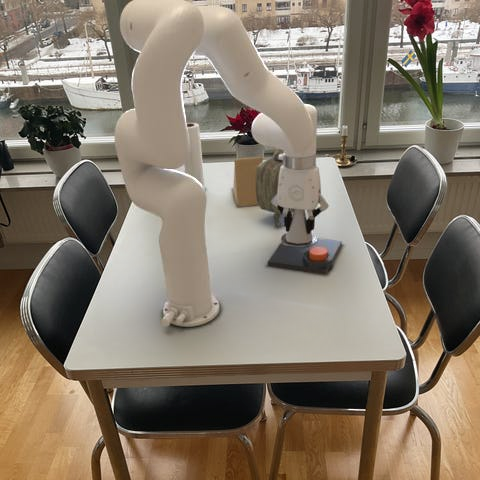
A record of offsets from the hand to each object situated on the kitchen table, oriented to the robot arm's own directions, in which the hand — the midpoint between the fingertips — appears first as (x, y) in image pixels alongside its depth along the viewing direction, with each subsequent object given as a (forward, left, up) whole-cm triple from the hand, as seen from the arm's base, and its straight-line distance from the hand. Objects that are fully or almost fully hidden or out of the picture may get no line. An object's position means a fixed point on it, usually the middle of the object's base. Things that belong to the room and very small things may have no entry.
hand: (299, 229), depth 137 cm
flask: (0, 0, -3) cm, 3 cm away
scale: (-3, -2, -6) cm, 7 cm away
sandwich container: (+30, +27, -6) cm, 41 cm away
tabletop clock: (+17, +11, -6) cm, 21 cm away
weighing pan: (0, 0, -3) cm, 3 cm away
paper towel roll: (+30, +46, -6) cm, 55 cm away
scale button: (-7, -7, -3) cm, 10 cm away
